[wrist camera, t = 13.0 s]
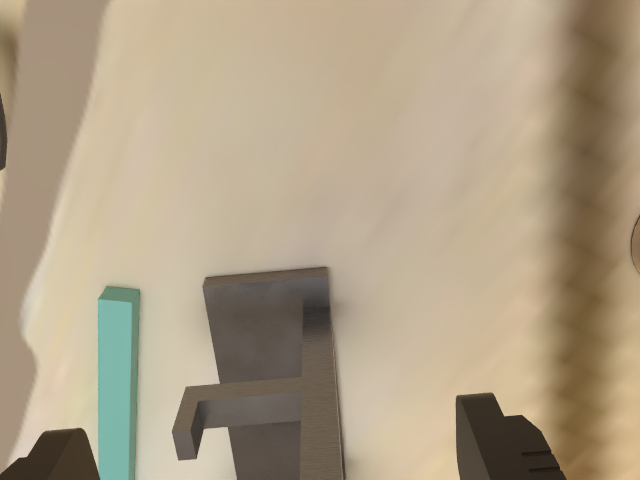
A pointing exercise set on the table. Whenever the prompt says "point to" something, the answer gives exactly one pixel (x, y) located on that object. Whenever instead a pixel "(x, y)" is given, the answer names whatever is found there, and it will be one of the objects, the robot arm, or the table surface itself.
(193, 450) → the hook rack
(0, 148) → the dark grey elongated piece
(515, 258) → the table surface
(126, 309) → the teal rail
